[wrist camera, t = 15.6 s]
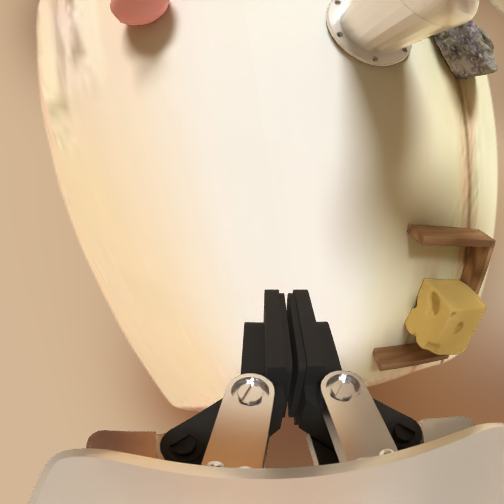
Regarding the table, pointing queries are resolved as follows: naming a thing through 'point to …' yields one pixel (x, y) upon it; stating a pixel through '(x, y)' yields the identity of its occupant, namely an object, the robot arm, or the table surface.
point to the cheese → (445, 316)
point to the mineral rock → (467, 50)
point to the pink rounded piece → (138, 10)
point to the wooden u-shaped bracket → (471, 277)
